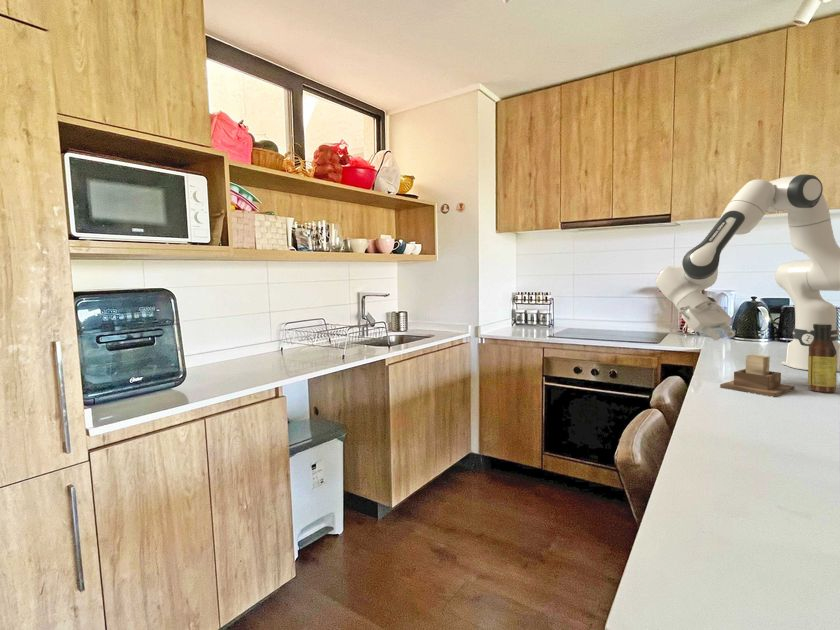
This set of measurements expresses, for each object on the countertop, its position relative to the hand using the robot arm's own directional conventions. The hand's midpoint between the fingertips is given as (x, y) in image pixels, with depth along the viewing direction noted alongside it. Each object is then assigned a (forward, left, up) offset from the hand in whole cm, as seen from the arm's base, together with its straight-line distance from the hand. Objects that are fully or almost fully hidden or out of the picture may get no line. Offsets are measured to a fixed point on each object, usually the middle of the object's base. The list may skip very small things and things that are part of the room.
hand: (725, 337), depth 143 cm
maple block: (0, +9, -14) cm, 16 cm away
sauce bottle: (-11, +21, -15) cm, 28 cm away
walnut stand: (0, +9, -15) cm, 17 cm away
